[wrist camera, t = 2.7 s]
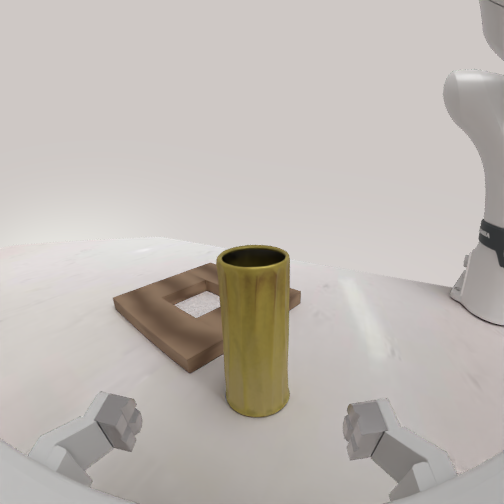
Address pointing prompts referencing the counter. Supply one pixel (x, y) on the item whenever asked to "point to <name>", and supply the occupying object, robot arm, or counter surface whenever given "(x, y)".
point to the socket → (180, 316)
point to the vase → (255, 327)
